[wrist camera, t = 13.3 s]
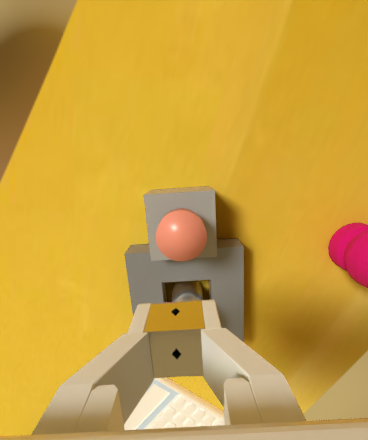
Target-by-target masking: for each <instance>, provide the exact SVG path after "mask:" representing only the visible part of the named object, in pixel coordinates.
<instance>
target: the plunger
mask: <svg viewBox="0 0 368 440" xmlns="http://www.w3.org/2000/svg"><path fill="white" fill-rule="evenodd" d="M206 242H207V232H206V229H205V226H204V223H203V221H202V219H201V218H200V216H199V215H198V214H196V213H195V212H194V211H192V210H189V209H185V208H178V209H174V210H171V211H169V212H168V213H167V214H165V215H164V216H163V218H162V219H161V221H160V223H159V225H158V228H157V231H156V243H157V246H158V248H159V250H160V251H161V252H162V254H164V255H165V256H166V257H167V258H169V259H171V260H175V261H188V260H191V259H193V258H195V257H197V256H198V255H199V254H200V253H201V252H202V251H203V249H204V247H205V245H206Z"/></svg>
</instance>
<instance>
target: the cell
mask: <svg viewBox="0 0 368 440" xmlns="http://www.w3.org/2000/svg"><path fill="white" fill-rule="evenodd" d="M201 300H203V294H202V287H201V284H200V283H199V281H198V280H195V281H179V282H175V284H174V286H173V293H172V302H188V301H201Z"/></svg>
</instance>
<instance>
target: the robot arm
mask: <svg viewBox="0 0 368 440" xmlns="http://www.w3.org/2000/svg"><path fill="white" fill-rule="evenodd" d="M177 376H203V377H204V379H205V380H206V382H207V383H208V385H209V386H210V388H211V389H212V391H213V392H214V393H215V395H216V396H217V398H218V399H219V401H220V402H221V404H222V405H223V407H224V422H225V425H218V426H198V427H178V428H158V429H139V430H125V429H124V424H125V423H126V421H127V420H128V418H129V417H130V415H131V414H132V412H133V411H134V409H135V408H136V406H137V405H138V403H139V402H140V400H141V399H142V397H143V396H144V394H145V393H146V391H147V390H148V388H149V387H150V385H151V384H152V382H153V381H154V378H165V377H177ZM0 440H368V418H358V419H338V420H319V421H306V419H305V417H304V415H303V413H302V411H301V409H300V407H299V405H298V403H297V401H296V399H295V397H294V395H293V393H292V391H291V389H290V387H289V384H288V382H287V380H286V378H285V376H284V374H282V373H281V372H280V371H279V370H277V369H276V368H275V367H274V366H272V365H271V364H270V363H269V362H267V361H266V360H265V359H264V358H262V357H261V356H260V355H259V354H258V353H256V352H255V351H254V350H253V349H251V348H250V347H249V346H248V345H246V344H245V343H244V342H243V341H241V340H240V339H239V338H238V337H236V336H235V335H234V334H233V333H231V332H230V331H229V330H228V329H226V328H222V327H221V323H220V319H219V315H218V311H217V307H216V303H215V300H214V299H209V300H201V301H188V302H163V303H141V304H138V305H137V308H136V311H135V313H134V316H133V319H132V322H131V325H130V328H129V331H128V333H127V334H123V335H121V336H120V337H119V338H118V339H117V340H115V341H114V342H113V343H112V344H110V345H109V346H108V347H107V348H106V349H104V350H103V351H102V352H101V353H99V354H98V355H97V356H96V357H95V358H93V359H92V360H91V361H90V362H88V363H87V364H86V365H85V366H84V367H82V368H81V369H80V370H79V371H77V372H76V373H75V374H74V375H73V376H71V377H70V378H69V379H68V380H67V381H65V382H64V383H63V384H62V385H60V387H59V388H58V390H57V392H56V394H55V395H54V397H53V399H52V400H51V402H50V404H49V406H48V407H47V409H46V411H45V413H44V414H43V416H42V418H41V419H40V421H39V423H38V425H37V426H36V428H35V430H34V431H33V433H32V435H20V436H0Z"/></svg>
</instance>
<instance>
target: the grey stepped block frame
mask: <svg viewBox="0 0 368 440" xmlns="http://www.w3.org/2000/svg"><path fill="white" fill-rule="evenodd" d="M144 202H145V211H146V220H147V229H148V238H149V244H140V245H131V246H130V247H129V248H128V250H127V251H126V253H125V260H126V268H127V275H128V282H129V289H130V296H131V303H132V311H133V316H134V313H135V311H136V308H137V305H138V304H141V303H163V302H167V299H166V289H165V282H179V281H195V280H209V299H214V300H215V303H216V307H217V311H218V315H219V319H220V323H221V327H222V328H226V329H228V330H229V331H230V332H231V333H233V334H234V335H235V336H236V337H238V338H239V339H240V340H241V341H243V342H244V246H243V245H242V243H241V242H240V241H239V240H238V238H235V239H219V240H217V237H216V206H215V190H214V189H212V188H211V187H209V186H202V187H187V188H172V189H157V190H151V191H149V192H148V193H146V194H144ZM178 208H185V209H189V210H192V211H194V212H195V213H196V214H198V215H199V216H200V218H201V219H202V221H203V223H204V226H205V229H206V232H207V242H206V245H205V247H204V249H203V251H202V252H201V253H200V254H199V255H198V256H197V257H195V258H193V259H191V260H188V261H175V260H171V259H169V258H167V257H166V256H165V255H164V254H162V252H161V251H160V250H159V248H158V246H157V243H156V231H157V228H158V225H159V223H160V221H161V219H162V218H163V216H164V215H165V214H167V213H168V212H169V211H171V210H174V209H178Z"/></svg>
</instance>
